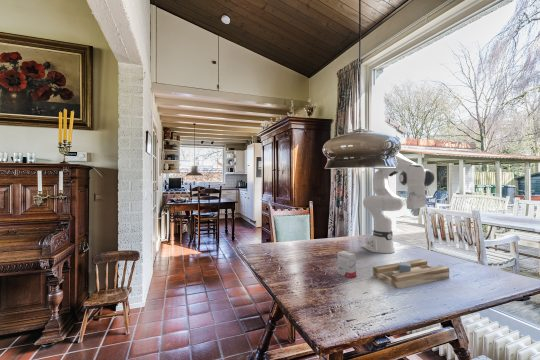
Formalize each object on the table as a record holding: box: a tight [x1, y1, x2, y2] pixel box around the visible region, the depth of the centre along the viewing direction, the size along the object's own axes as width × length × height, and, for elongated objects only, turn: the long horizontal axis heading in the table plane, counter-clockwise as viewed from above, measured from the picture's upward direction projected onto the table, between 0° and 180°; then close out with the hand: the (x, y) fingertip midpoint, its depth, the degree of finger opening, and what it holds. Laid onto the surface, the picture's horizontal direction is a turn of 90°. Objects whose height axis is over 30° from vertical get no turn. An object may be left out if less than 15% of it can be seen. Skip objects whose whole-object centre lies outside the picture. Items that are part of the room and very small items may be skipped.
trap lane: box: [372, 258, 450, 289], centre depth 131 cm, size 16×34×5 cm, turn 110°
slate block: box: [398, 261, 411, 273], centre depth 130 cm, size 5×5×4 cm
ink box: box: [336, 250, 357, 279], centre depth 135 cm, size 9×5×12 cm, turn 33°
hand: (416, 215), depth 147 cm, fingers closed
